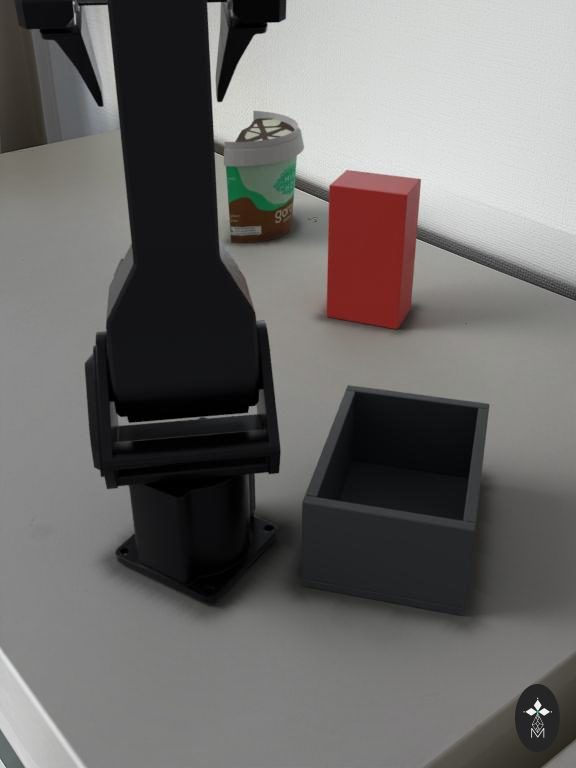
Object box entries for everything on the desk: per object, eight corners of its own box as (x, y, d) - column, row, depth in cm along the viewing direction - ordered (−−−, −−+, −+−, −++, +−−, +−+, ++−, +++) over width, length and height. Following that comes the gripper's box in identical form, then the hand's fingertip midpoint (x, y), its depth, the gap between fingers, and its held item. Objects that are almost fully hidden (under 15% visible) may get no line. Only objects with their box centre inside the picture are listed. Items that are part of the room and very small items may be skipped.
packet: (397, 329, 69) (407, 195, 63) (326, 316, 71) (329, 185, 65) (411, 308, 72) (421, 178, 66) (342, 297, 74) (346, 169, 68)
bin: (462, 616, 43) (474, 530, 40) (301, 586, 45) (301, 502, 42) (478, 480, 52) (489, 403, 49) (344, 460, 54) (347, 384, 51)
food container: (290, 253, 82) (290, 147, 77) (227, 248, 83) (222, 143, 78) (313, 208, 92) (314, 112, 87) (256, 204, 93) (254, 109, 88)
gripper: (269, -155, 64) (265, 52, 75) (7, -154, 61) (44, 59, 73) (291, -106, 56) (283, 116, 67) (-7, -103, 54) (36, 127, 65)
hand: (160, 102), depth 68 cm, fingers open, 9 cm apart
